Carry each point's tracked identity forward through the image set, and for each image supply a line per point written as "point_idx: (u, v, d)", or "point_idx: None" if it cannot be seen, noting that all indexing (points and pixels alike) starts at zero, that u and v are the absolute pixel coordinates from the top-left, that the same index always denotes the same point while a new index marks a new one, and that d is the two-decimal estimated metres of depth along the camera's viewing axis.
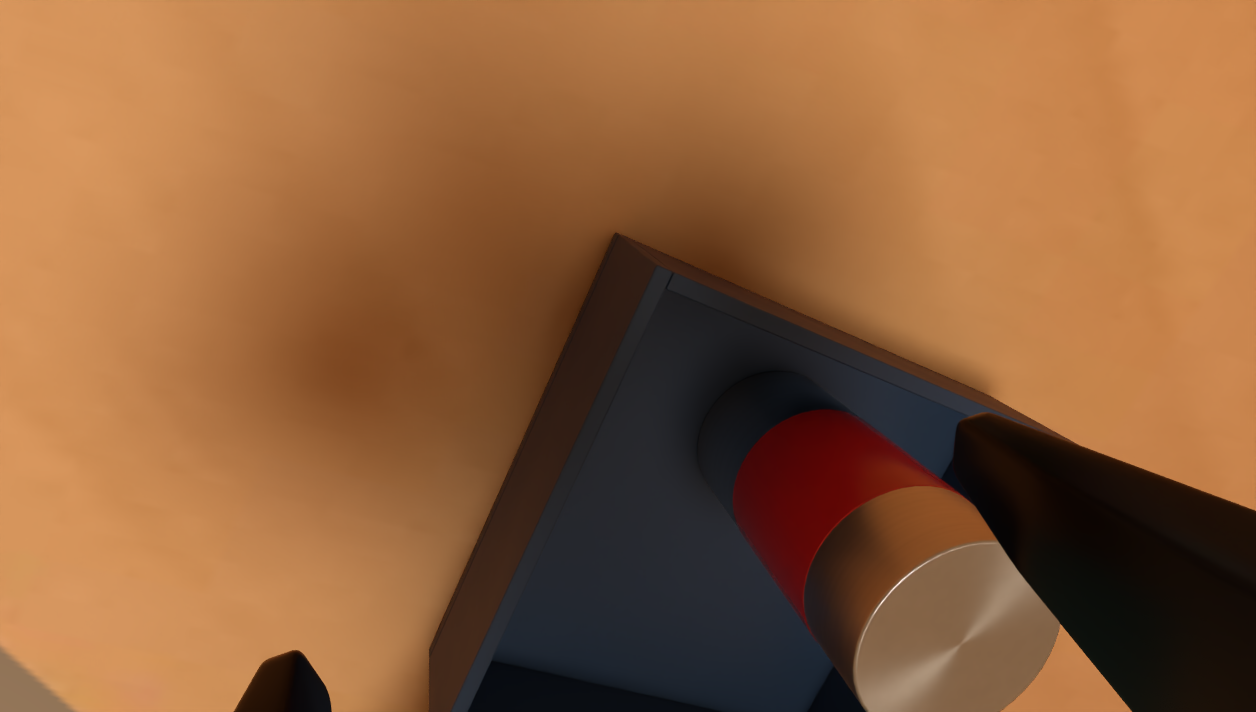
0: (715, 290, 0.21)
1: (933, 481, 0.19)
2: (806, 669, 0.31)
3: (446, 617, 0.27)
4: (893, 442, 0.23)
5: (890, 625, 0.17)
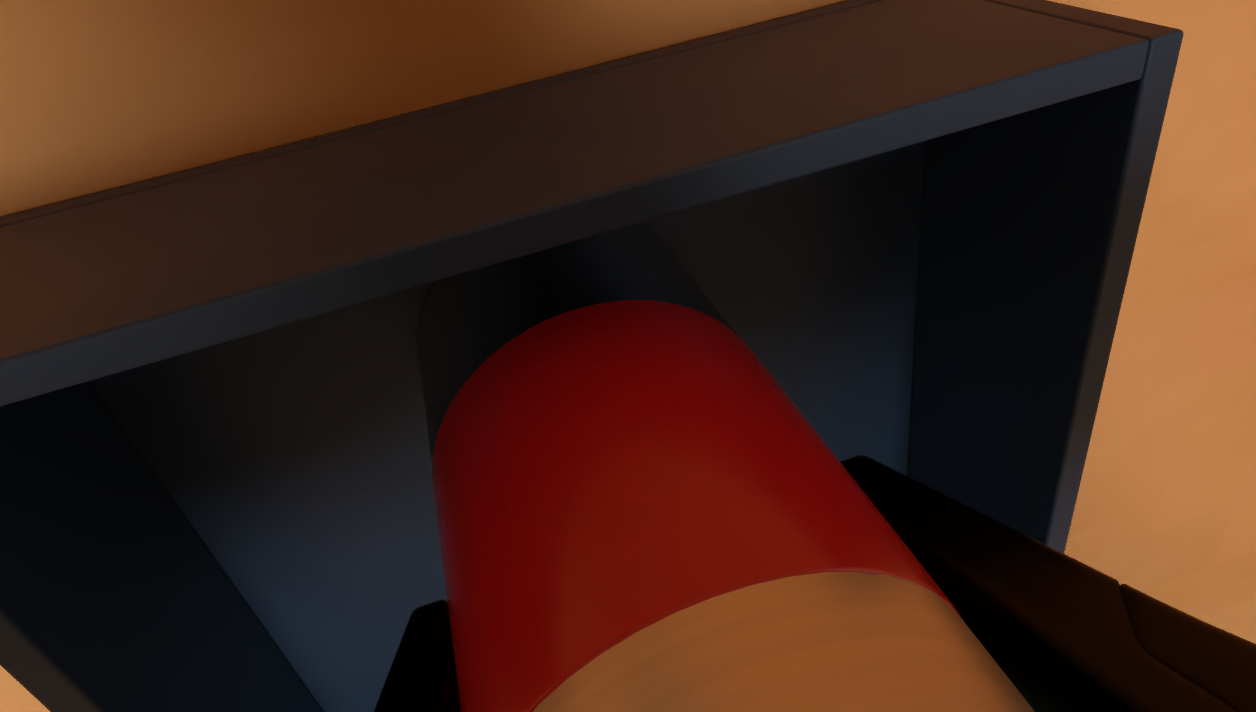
0: None
1: (664, 582, 0.07)
2: None
3: None
4: (655, 359, 0.09)
5: None
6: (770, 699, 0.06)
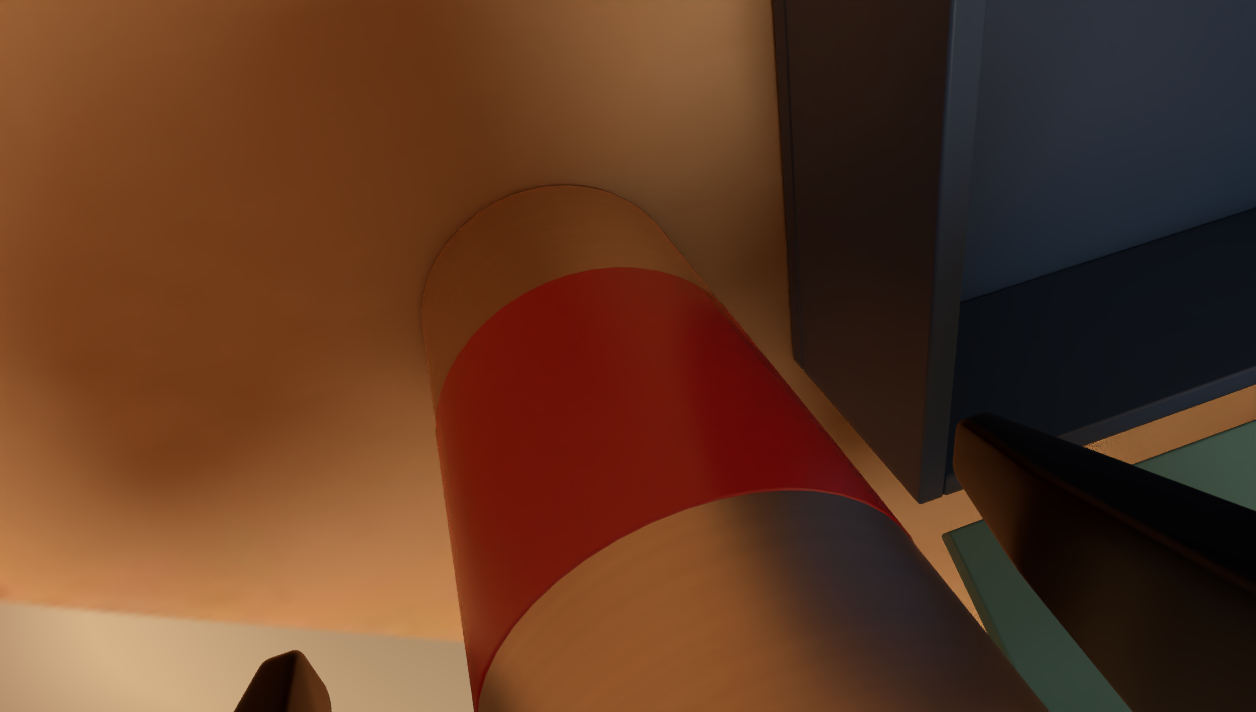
0: None
1: (642, 499, 0.07)
2: None
3: (797, 305, 0.17)
4: (640, 316, 0.10)
5: None
6: (732, 588, 0.06)
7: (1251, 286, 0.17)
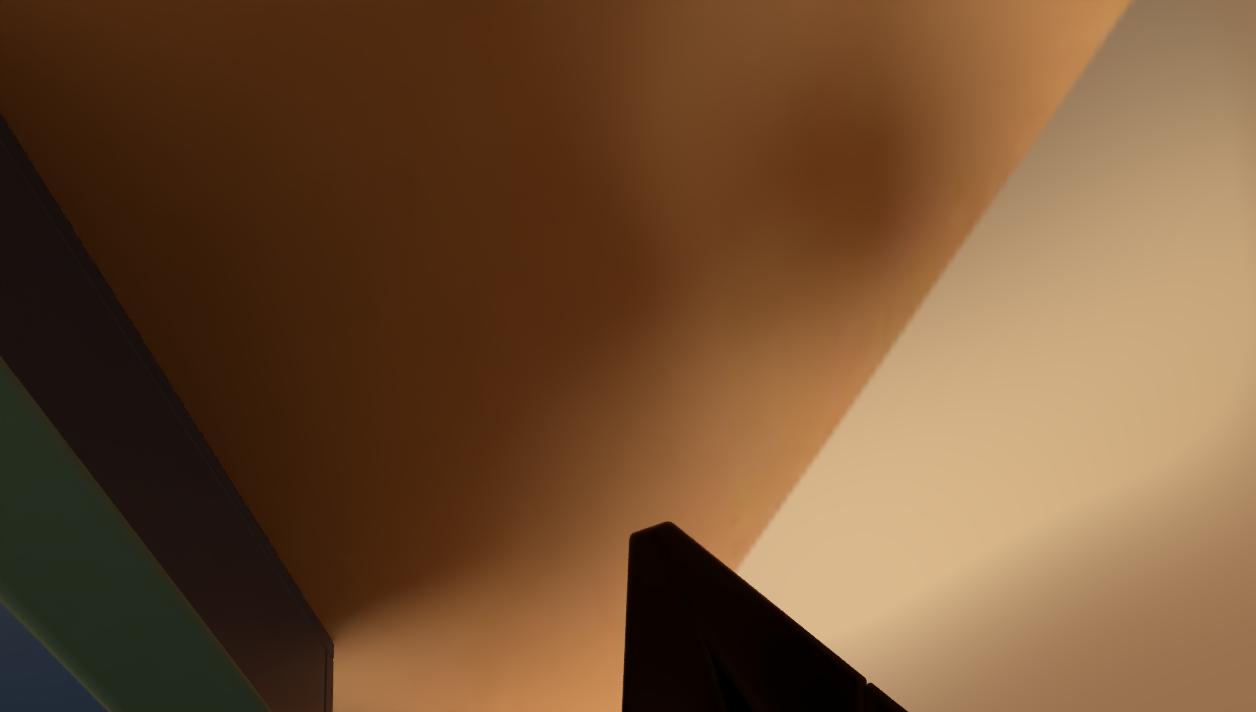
0: None
1: None
2: None
3: None
4: None
5: None
6: None
7: None
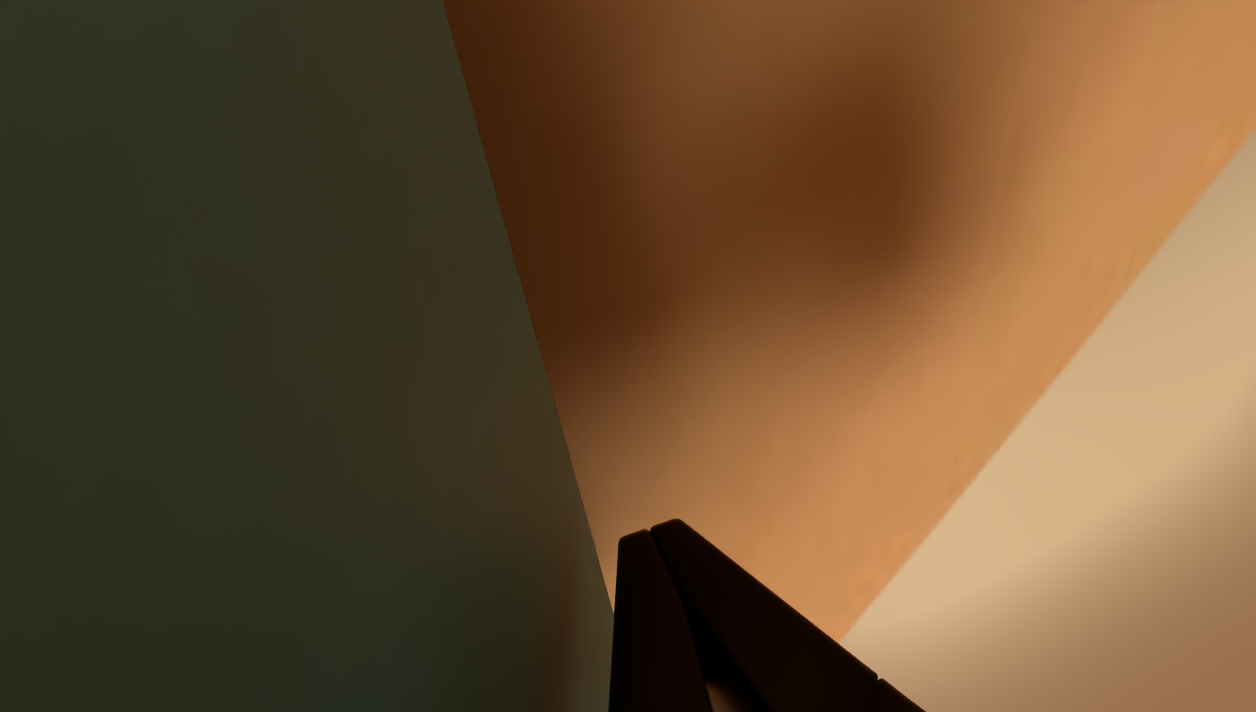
0: None
1: None
2: None
3: None
4: None
5: None
6: None
7: None
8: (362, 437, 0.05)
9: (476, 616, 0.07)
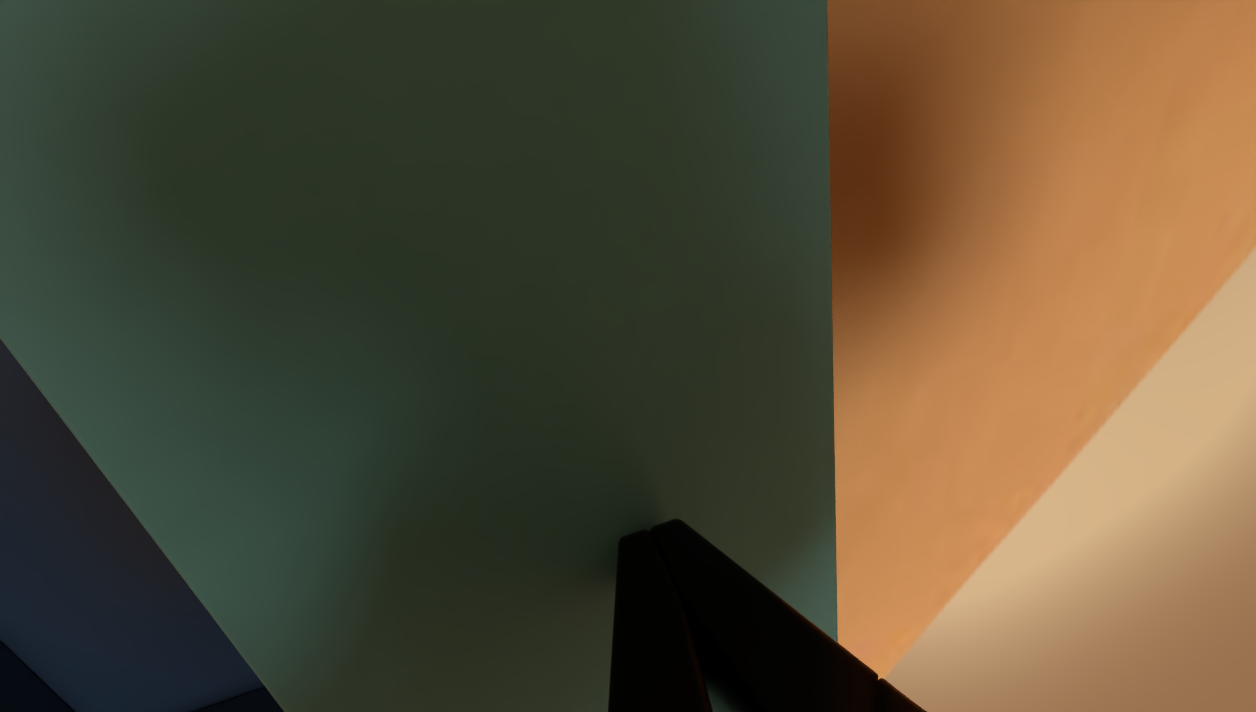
0: None
1: None
2: None
3: None
4: None
5: None
6: None
7: None
8: (518, 224, 0.07)
9: (598, 404, 0.09)
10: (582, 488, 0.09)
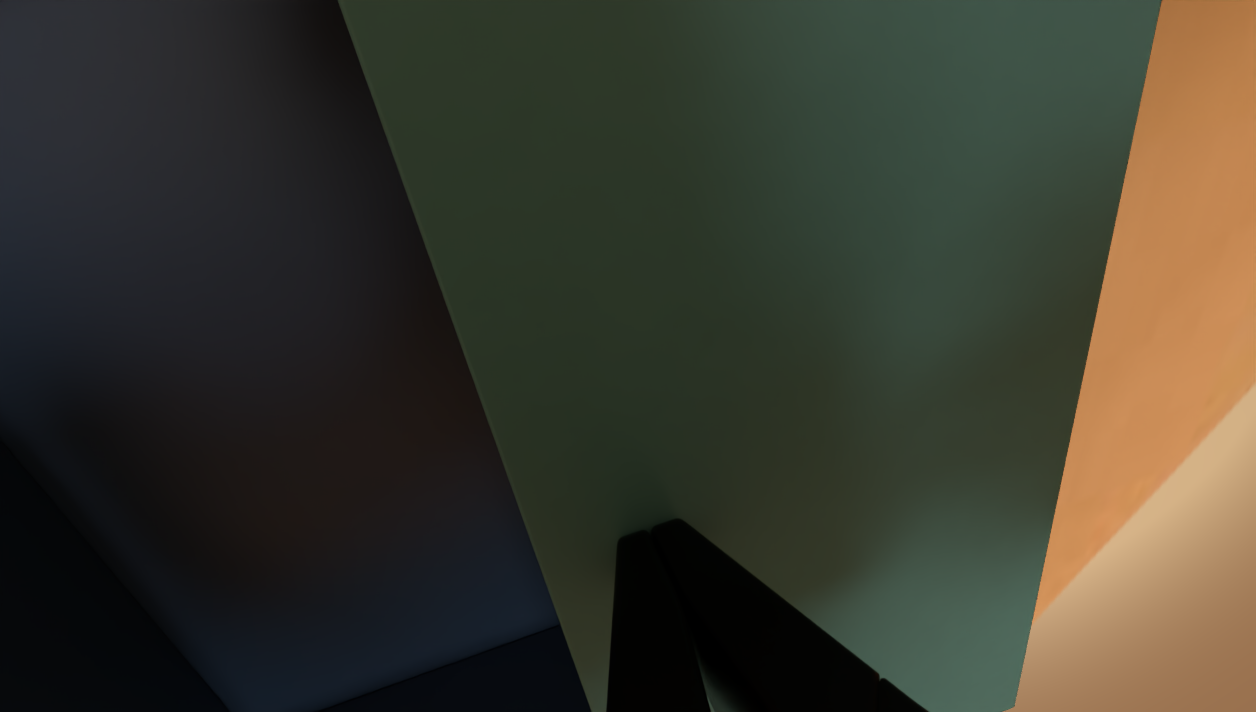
0: None
1: None
2: None
3: None
4: None
5: None
6: None
7: None
8: (816, 144, 0.08)
9: (850, 331, 0.09)
10: (818, 409, 0.10)
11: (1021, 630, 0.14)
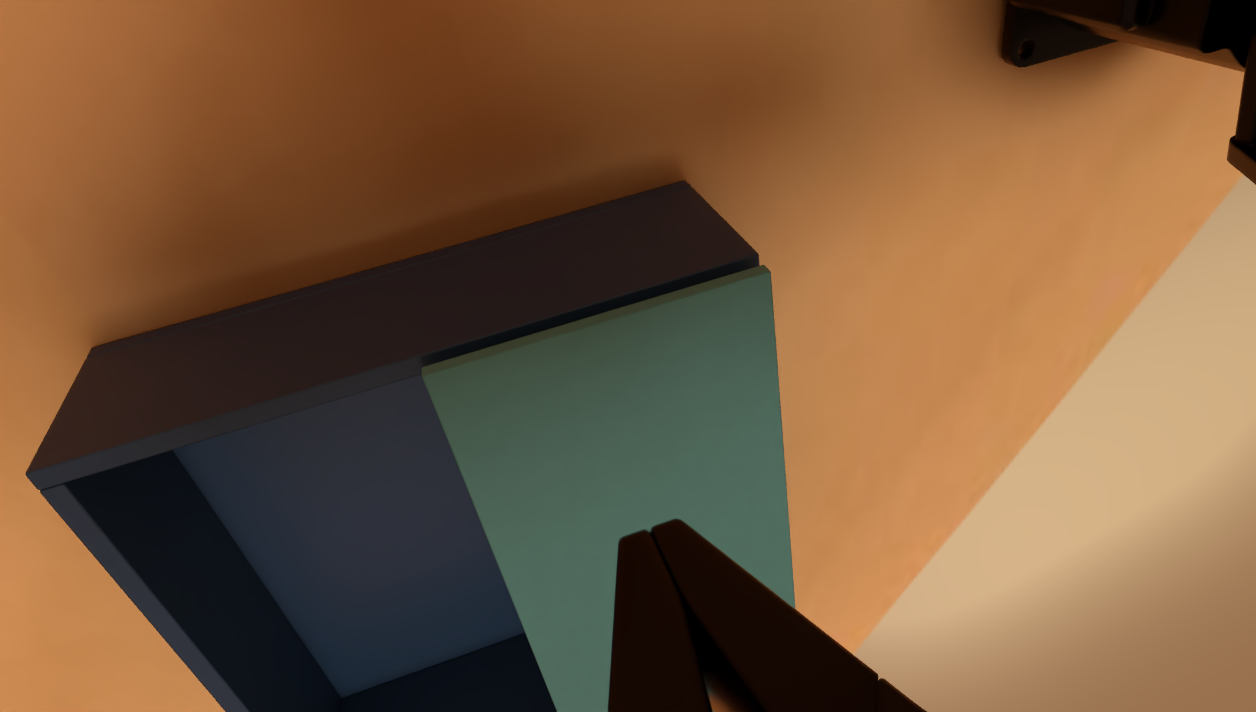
0: None
1: None
2: None
3: None
4: None
5: None
6: None
7: None
8: (627, 431, 0.19)
9: (655, 496, 0.20)
10: (646, 529, 0.21)
11: None
